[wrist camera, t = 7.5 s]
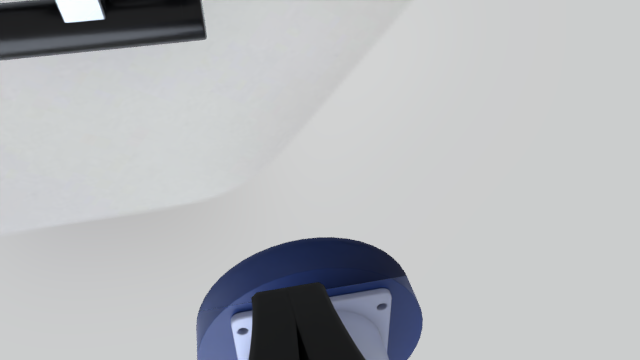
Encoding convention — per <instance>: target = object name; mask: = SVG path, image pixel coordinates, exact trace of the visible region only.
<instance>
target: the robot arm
mask: <svg viewBox="0 0 640 360" xmlns="http://www.w3.org/2000/svg"><path fill="white" fill-rule="evenodd" d="M391 300H392V297H391V294H390V291H389V290H388V289H385V288H379V289H373V290H368V291H362V292H356V293H350V294H344V295H339V296H333V297H329V296H328V294H327V292H326V289H325V287H324V285H322V284H321V283H319V282H317V283H311V284H305V285H299V286H293V287H287V288H281V289H275V290H269V291H263V292H257V293H256V294H255V295H254V296H253V297H252V310H251V311H245V312H240V313H237V314H235V315H234V316H233V317H232V318H231V327H232V332H233V337H234V342H235V347H236V353H237V358H238V360H389V358H388V355H387V347H388V335H389V324H390V312H391Z"/></svg>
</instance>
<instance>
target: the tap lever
mask: <svg viewBox="0 0 640 360" xmlns="http://www.w3.org/2000/svg"><path fill="white" fill-rule="evenodd" d="M206 38H207V34H206V26H205V19H204V12H203V6H202V0H32V1H21V2H10V3H0V60H10V59H20V58H29V57H39V56H49V55H59V54H69V53H79V52H89V51H99V50H109V49H118V48H128V47H138V46H148V45H158V44H168V43H178V42H188V41H198V40H205V39H206Z"/></svg>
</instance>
